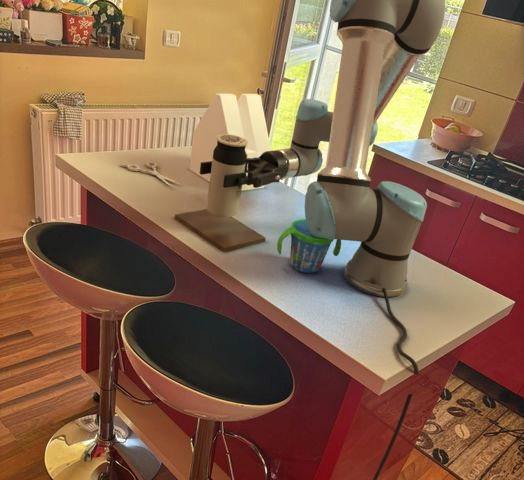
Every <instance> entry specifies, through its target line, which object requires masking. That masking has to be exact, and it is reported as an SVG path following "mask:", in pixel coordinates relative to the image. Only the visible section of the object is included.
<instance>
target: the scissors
mask: <svg viewBox="0 0 524 480" xmlns="http://www.w3.org/2000/svg"><path fill="white" fill-rule="evenodd" d="M120 166H121V167H123V168H127V169H128V170H129V171H133V172H141V173H145V174H149V175H152V176H155V177H157V178H158V179H160V180H161V181H162V182H163V183H165V184H166V185H168V186H169V187H171V184H170V183H169V182H168V181H170V182H173V183H176V184H179V185H180V182H177V181H175V180H173V179H171V178H169V177H167V176H164V175H162V174H161V173H160V172H159V171H157V163H155V162H152V161H151V162H150V161H149V162H148V161H147V162H146V167H147V168H148V169H152V170H148V169H144V168H140V166H139V165H135V164H125V163H121V164H120ZM166 180H167V181H166Z"/></svg>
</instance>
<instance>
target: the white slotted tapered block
mask: <svg viewBox="0 0 524 480" xmlns="http://www.w3.org/2000/svg"><path fill="white" fill-rule="evenodd" d="M203 113H204V114H203V115H202V116H201V118H200V119H199V122H198V124H197V125H196V127H195V129H194V131H193V133H192V143H191V153H190V161H189V170H190V171H191V172H193V173H194V174H196V175H197V176H199V177H201V178H202V179H204V180H206V182H209V183H210V176H211V173H210V174H203V175H201V174H200V166H201V162H209V161H212V159H213V151H214V149H215V147H216V146H217V139H216V137H217V136H218V135H221V134H229V135H235V136H239V137H242V138H244V139H245V140H247V142H248V144H247V145H246V148H245V152H246V154H247V158H259V157H260V156H261V155H262V154H263V153H264V152H266V151H272V148H271V143H270V138H269V132H268V126H267V121H266V117H265V111H264V106H263V101H262V96H261V95H260V94H258V93H241V94H240V96H239V97H238V98H237V95H236V94H233V93H215V95H214V96H213V98H212V99H211V101H210V103H209V105H208V107H207V108H206V109H205V112H203ZM247 167H248V165H247ZM247 169H248V168H247ZM247 175H248V173H247V174H246V176H247ZM263 188H266V185H264V186H261V187H258V188H255V187H253V185H246V184H244V185H242V189H241V192H243V191H250V190H256V189H263Z"/></svg>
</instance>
